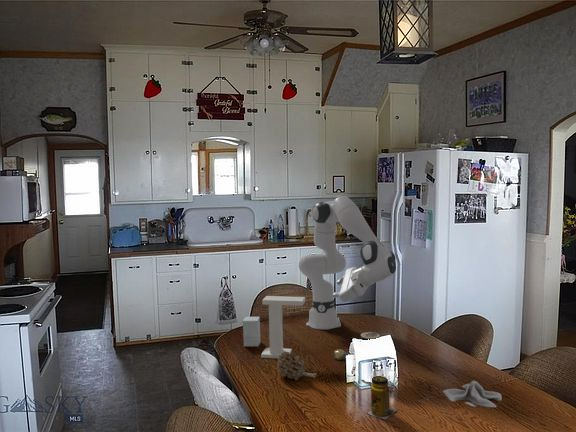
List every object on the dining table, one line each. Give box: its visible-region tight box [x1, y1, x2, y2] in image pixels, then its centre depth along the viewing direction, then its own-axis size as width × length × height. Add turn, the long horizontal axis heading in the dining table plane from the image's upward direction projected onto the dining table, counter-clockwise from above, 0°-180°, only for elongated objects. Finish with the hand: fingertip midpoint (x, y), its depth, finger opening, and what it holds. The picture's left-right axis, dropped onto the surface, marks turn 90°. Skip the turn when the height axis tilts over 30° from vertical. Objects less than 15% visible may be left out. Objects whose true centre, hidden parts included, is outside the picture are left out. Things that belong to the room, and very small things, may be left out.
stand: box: [260, 295, 306, 359], centre depth 227 cm, size 9×19×26 cm, turn 78°
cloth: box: [442, 380, 503, 408], centre depth 181 cm, size 22×19×6 cm
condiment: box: [366, 375, 398, 420], centre depth 171 cm, size 7×8×12 cm
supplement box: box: [242, 316, 262, 347], centre depth 243 cm, size 7×7×13 cm
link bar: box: [333, 348, 349, 361], centre depth 221 cm, size 4×20×3 cm, turn 77°
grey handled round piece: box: [276, 352, 318, 381], centre depth 199 cm, size 22×10×10 cm, turn 47°
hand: (335, 289), depth 226 cm, fingers open, 8 cm apart
